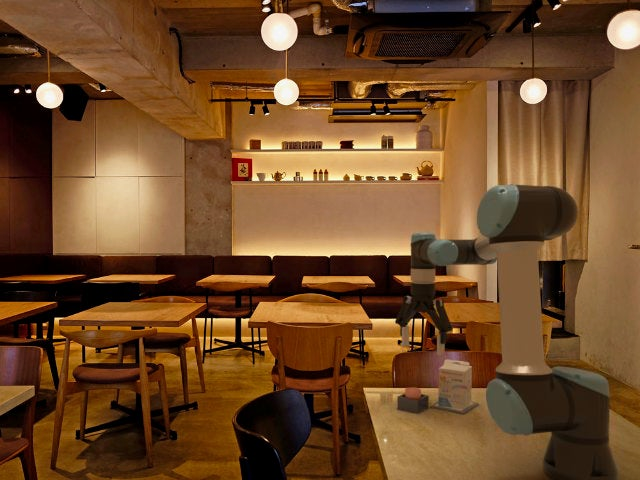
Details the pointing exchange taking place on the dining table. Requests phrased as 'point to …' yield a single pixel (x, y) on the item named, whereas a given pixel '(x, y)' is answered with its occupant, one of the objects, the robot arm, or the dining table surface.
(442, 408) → the board
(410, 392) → the button
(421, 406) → the button housing
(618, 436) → the dining table surface
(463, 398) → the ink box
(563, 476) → the robot arm
